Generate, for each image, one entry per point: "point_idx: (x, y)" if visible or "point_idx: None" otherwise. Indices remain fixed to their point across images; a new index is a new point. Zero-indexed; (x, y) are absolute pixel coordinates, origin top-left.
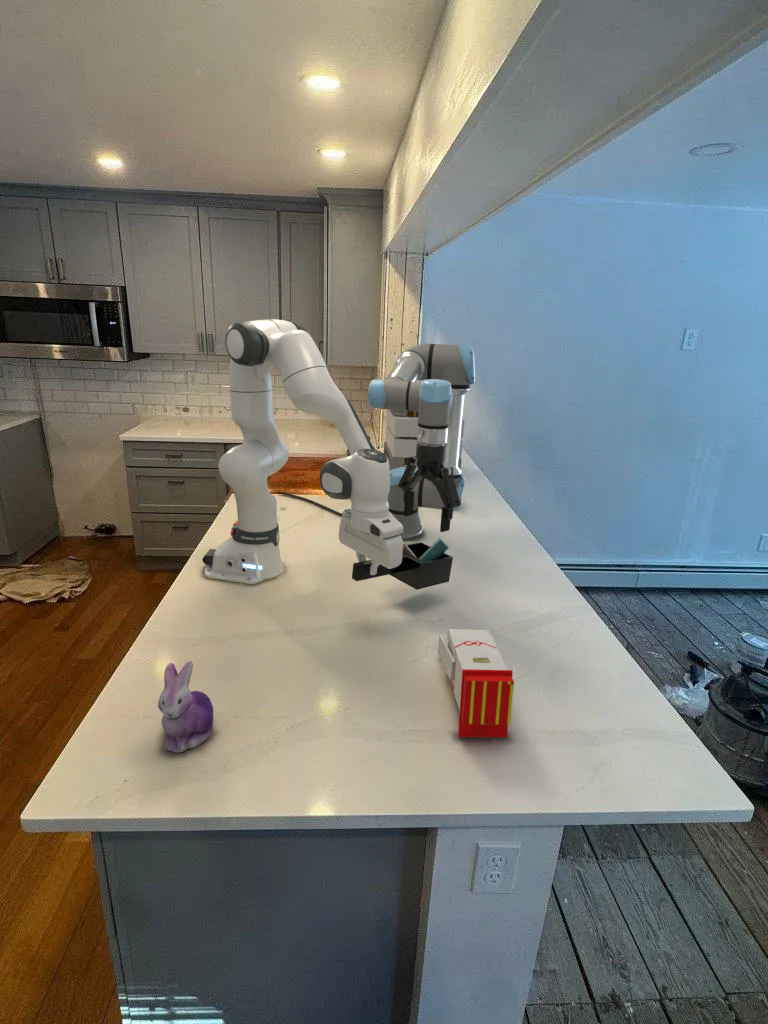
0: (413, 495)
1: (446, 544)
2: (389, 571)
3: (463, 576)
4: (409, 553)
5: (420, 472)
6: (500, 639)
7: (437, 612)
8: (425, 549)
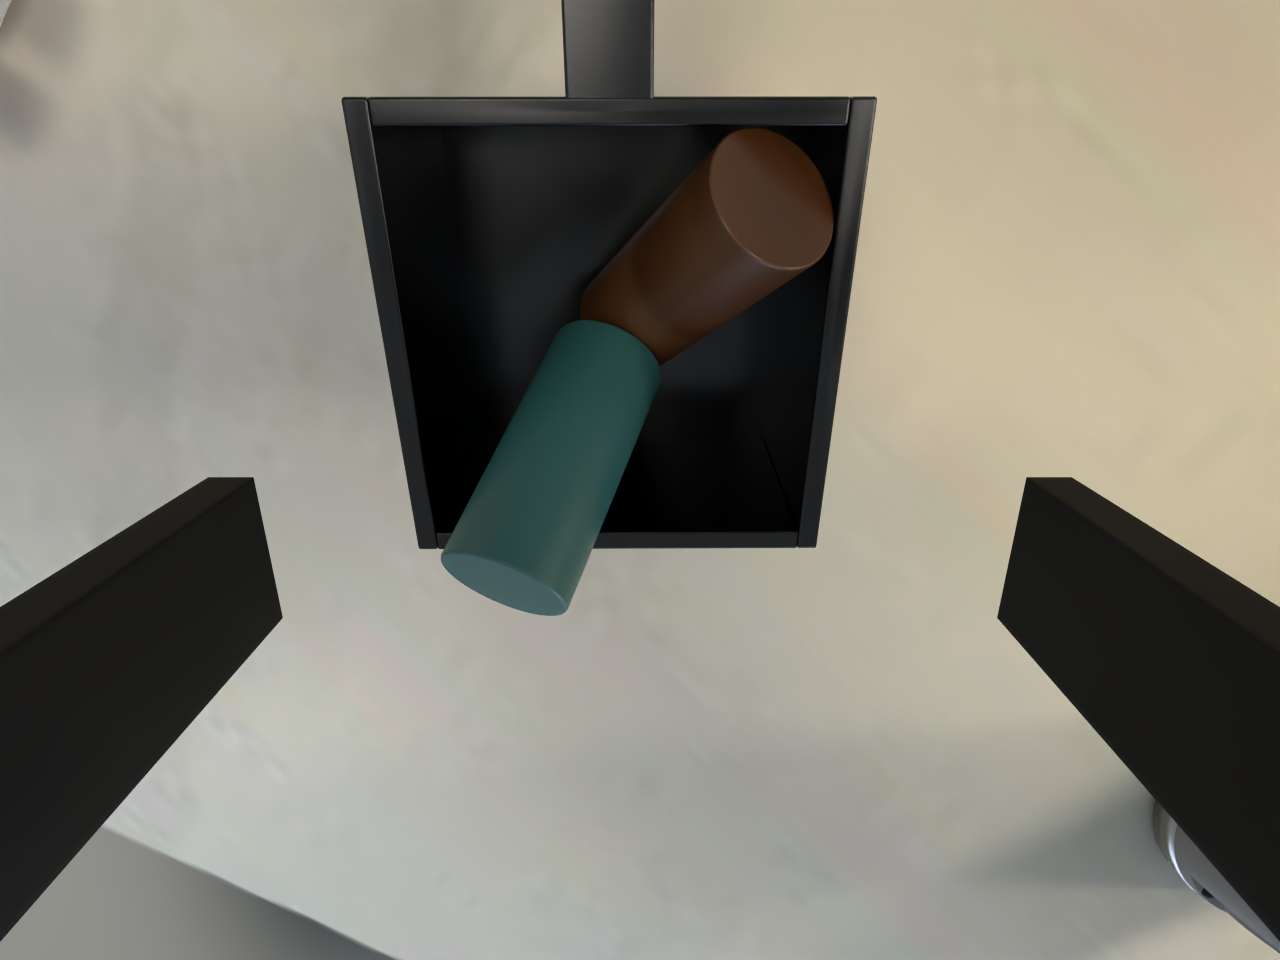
0: (1243, 876)
1: (520, 608)
2: None
3: (675, 686)
4: (664, 241)
5: None
6: (72, 361)
7: None
8: (728, 512)
